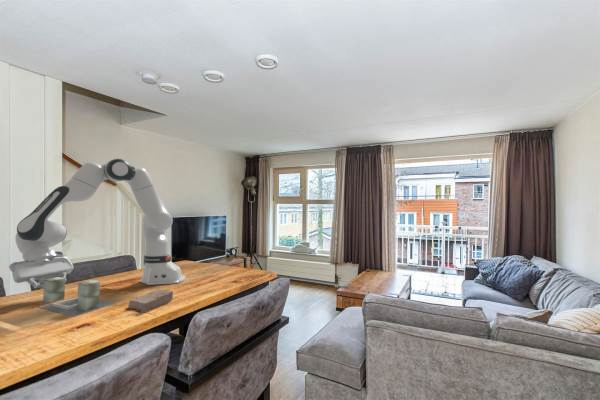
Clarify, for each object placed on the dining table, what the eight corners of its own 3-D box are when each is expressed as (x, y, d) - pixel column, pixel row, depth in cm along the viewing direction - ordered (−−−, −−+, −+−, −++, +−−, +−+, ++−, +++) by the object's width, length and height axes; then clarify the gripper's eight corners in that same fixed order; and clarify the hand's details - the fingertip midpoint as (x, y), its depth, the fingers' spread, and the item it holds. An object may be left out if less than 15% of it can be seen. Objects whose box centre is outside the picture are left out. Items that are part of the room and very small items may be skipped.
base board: (81, 298, 125) (82, 293, 125) (116, 306, 117) (116, 300, 117) (37, 310, 110) (37, 305, 110) (73, 320, 102) (73, 314, 102)
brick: (143, 314, 110) (143, 301, 110) (126, 311, 112) (127, 299, 113) (173, 301, 126) (174, 290, 126) (158, 298, 128) (158, 288, 128)
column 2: (90, 304, 115) (91, 279, 115) (98, 306, 113) (99, 281, 113) (77, 308, 110) (78, 282, 110) (85, 310, 108) (86, 284, 108)
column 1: (56, 300, 123) (57, 276, 123) (64, 301, 121) (65, 278, 121) (42, 303, 118) (44, 279, 118) (50, 305, 116) (51, 280, 116)
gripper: (10, 258, 114) (23, 285, 110) (68, 251, 133) (80, 274, 129) (4, 268, 115) (16, 295, 111) (61, 260, 134) (74, 283, 130)
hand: (51, 284), depth 120 cm, fingers open, 8 cm apart
